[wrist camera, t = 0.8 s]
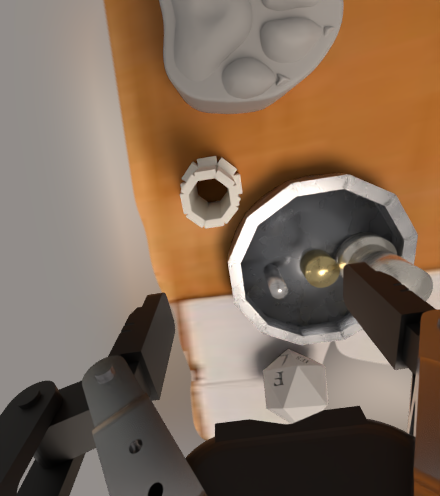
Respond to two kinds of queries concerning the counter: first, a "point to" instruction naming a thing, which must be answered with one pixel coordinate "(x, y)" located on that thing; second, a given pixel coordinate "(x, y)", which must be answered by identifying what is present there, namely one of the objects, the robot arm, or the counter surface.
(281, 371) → the die
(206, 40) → the paw print stamp
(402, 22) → the counter surface
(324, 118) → the counter surface
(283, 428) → the robot arm
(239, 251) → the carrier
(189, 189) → the flanged octagonal tube
